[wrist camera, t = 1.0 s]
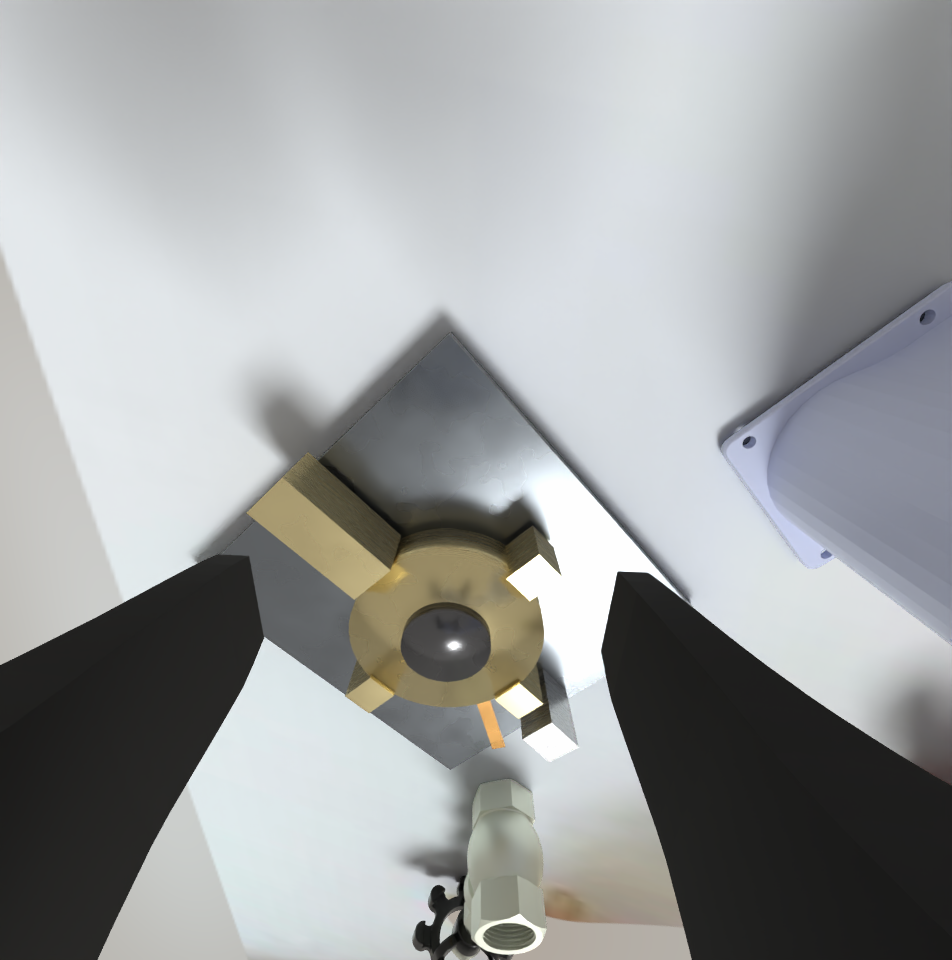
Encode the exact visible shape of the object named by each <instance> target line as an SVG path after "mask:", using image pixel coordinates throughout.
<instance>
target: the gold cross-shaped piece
mask: <svg viewBox="0 0 952 960" xmlns="http://www.w3.org/2000/svg"><path fill="white" fill-rule="evenodd" d="M247 514H248V515H249V516H251V517H252V518H253V519H254V520H256V521H257V522H258V523H259V524H261V525H262V526H263V527H264V528H266V529H267V530H268V531H269V532H271V533H272V534H273V535H274V536H275V537H277V538H278V539H279V540H280V541H282V542H283V543H284V544H285V545H287V546H288V547H289V548H290V549H292V550H293V551H294V552H295V553H297V554H298V555H299V556H300V557H302V558H303V559H304V560H305V561H307V562H308V563H309V564H310V565H312V566H313V567H314V568H315V569H317V570H318V571H319V572H320V573H321V574H323V575H324V576H325V577H326V578H328V579H329V580H330V581H331V582H333V583H334V584H335V585H336V586H338V587H339V588H340V589H341V590H343V591H344V592H345V593H346V594H348V595H349V596H350V597H351V598H353V599H354V600H355V599H356V600H355V603H354V606H353V608H352V611H351V615H350V620H349V637H350V643H351V646H352V649H353V652H354V655H355V657H356V658H357V661H356V664H355V667H354V670H353V673H352V676H351V679H350V683H349V686H348V689H347V692H346V695H345V696H346V697H347V698H348V699H350V700H351V701H353V702H354V703H355V704H357V705H358V706H360V707H361V708H362V709H364V710H365V711H367V712H368V713H370V712H372V711H373V710H374V709H376V708H377V707H379V706H380V705H382V704H383V703H384V702H386V701H387V700H389V699H390V698H392V697H393V696H394V694H395V695H397V696H399V697H401V698H404V699H406V700H409V701H412V702H415V703H419V704H423V705H429V706H436V707H463V706H470V705H475V704H480V703H483V702H486V701H490V700H492V699H494V698H495V700H496V701H497V702H498V703H500V704H501V705H502V706H503V707H504V708H506V709H507V710H508V711H509V712H511V713H512V714H513V715H514V716H515V717H517V718H518V719H519V718H521V717H523V716H524V715H526V714H528V713H529V712H531V711H533V710H534V709H536V708H537V707H539V706H541V705H542V704H543V700H542V694H541V687H540V681H539V674H538V668H537V664H536V663H537V661H538V659H539V657H540V654H541V652H542V648H543V643H544V623H543V617H542V612H541V607H540V602H539V597H538V595H539V594H541V593H542V592H543V591H545V590H546V589H548V588H549V587H551V586H552V585H553V584H555V583H556V582H558V581H559V580H561V579H562V574H561V571H560V567H559V564H558V560H557V557H556V553H555V550H554V547H553V546H552V545H551V544H550V543H549V542H548V541H547V540H546V539H545V538H544V537H543V535H542V534H541V533H540V532H539V531H538V530H537V529H536V528H535V527H534V526H533V525H532V526H531V527H530V528H529V529H527V530H526V531H525V532H523V533H522V534H521V535H519V536H518V537H517V538H515V539H514V540H513V541H511V542H510V543H509V544H507V545H506V546H505V545H504V544H502V543H501V542H499V541H497V540H495V539H493V538H491V537H489V536H486V535H483V534H481V533H478V532H474V531H469V530H464V529H455V528H439V529H431V530H425V531H421V532H417V533H414V534H411V535H409V536H406V537H404V538H402V539H400V538H401V535H400V534H399V533H398V532H397V531H396V530H394V529H393V528H392V527H391V526H390V525H389V524H388V523H387V522H386V521H384V520H383V519H382V518H381V517H380V516H379V515H378V514H377V513H376V512H374V511H373V510H372V509H371V508H370V507H369V506H368V505H367V504H365V503H364V502H363V501H362V500H361V499H360V498H359V497H358V496H357V495H355V494H354V493H353V492H352V491H351V490H350V489H349V488H348V487H347V486H345V485H344V484H343V483H342V482H341V481H340V480H339V479H338V478H337V477H335V476H334V475H333V474H332V473H331V472H330V471H329V470H328V469H326V468H325V467H324V466H323V465H322V464H321V463H320V462H319V461H318V460H316V459H315V458H314V457H313V456H312V455H311V454H310V453H309V452H308V453H307V454H306V455H305V456H304V457H303V458H302V459H301V460H300V461H298V462H297V463H296V464H295V465H294V466H293V467H292V468H291V469H290V470H289V471H288V472H287V473H286V474H285V475H284V476H283V477H282V478H281V479H280V480H279V481H278V482H277V483H276V484H275V485H274V486H273V487H272V488H271V489H270V490H269V491H268V492H267V493H266V494H265V495H264V496H263V497H262V498H261V499H260V500H259V501H258V502H257V503H256V504H255V505H254V506H253V507H252V508H251V509H250V510H249V511H248V512H247Z"/></svg>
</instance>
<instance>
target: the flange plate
mask: <svg viewBox="0 0 952 960" xmlns="http://www.w3.org/2000/svg"><path fill="white" fill-rule="evenodd" d="M318 461H319V462H320V463H321V464H322V465H323V466H324V467H325V468H326V469H328V470H329V471H330V472H331V473H332V474H333V475H334V476H335V477H337V478H338V479H339V480H340V481H341V482H342V483H343V484H344V485H345V486H347V487H348V488H349V489H350V490H351V491H352V492H353V493H354V494H355V495H357V496H358V497H359V498H360V499H361V500H362V501H363V502H364V503H365V504H367V505H368V506H369V507H370V508H371V509H372V510H373V511H374V512H376V513H377V514H378V515H379V516H380V517H381V518H382V519H383V520H384V521H386V522H387V523H388V524H389V525H390V526H391V527H392V528H393V529H394V530H396V531H397V532H398V533H399V534H400V535H401V538H400V539H402V538H404V537H406V536H409V535H411V534H414V533H417V532H421V531H425V530H431V529H439V528H455V529H464V530H469V531H474V532H478V533H481V534H483V535H486V536H489V537H491V538H493V539H495V540H497V541H499V542H501V543H502V544H504V545H505V546H506V545H507V544H509V543H510V542H511V541H513V540H514V539H515V538H517V537H518V536H519V535H521V534H522V533H523V532H525V531H526V530H527V529H529V528H530V527H531V526H532V525H533V526H534V527H535V528H536V529H537V530H538V531H539V532H540V533H541V534H542V535H543V537H544V538H545V539H546V540H547V541H548V542H549V543H550V544H551V545H552V546H553V547H554V550H555V553H556V557H557V560H558V564H559V567H560V571H561V574H562V579H561V580H559V581H558V582H556V583H555V584H553V585H552V586H551V587H549V588H548V589H546V590H545V591H543V592H542V593H541V594H539V595H538V597H539V602H540V607H541V612H542V617H543V623H544V643H543V648H542V652H541V654H540V657H539V659H538V661H537V663H536V664H537V668H538V674H539V681H540V687H541V694H542V700H543V704H542V705H541V706H539V707H537V708H536V709H534V710H533V711H531V712H529V713H528V714H526V715H524V716H523V717H521V718H519V719H518V718H517V717H515V716H514V715H513V714H512V713H511V712H509V711H508V710H507V709H506V708H504V707H503V706H502V705H501V704H500V703H498V702H497V701H496V700H495V698H494V699H492V700H490V701H486V702H483V703H480V704H475V705H470V706H463V707H436V706H429V705H423V704H419V703H415V702H412V701H409V700H406V699H404V698H401V697H399V696H397V695H395V694H394V696H393V697H392V698H390V699H389V700H387V701H386V702H384V703H383V704H382V705H380V706H379V707H377V708H376V709H374V710H373V711H372V712H370V713H372V714H373V715H375V716H376V717H377V718H379V719H380V720H382V721H383V722H384V723H386V724H387V725H389V726H390V727H391V728H393V729H394V730H396V731H397V732H398V733H400V734H401V735H403V736H404V737H405V738H407V739H408V740H409V741H411V742H412V743H414V744H415V745H416V746H418V747H419V748H421V749H422V750H423V751H425V752H426V753H428V754H429V755H430V756H432V757H433V758H435V759H436V760H437V761H439V762H440V763H442V764H443V765H444V766H446V767H447V768H449V769H450V770H451V769H452V768H454V767H456V766H457V765H459V764H461V763H462V762H464V761H466V760H467V759H469V758H471V757H472V756H474V755H475V754H477V753H479V752H480V751H482V750H484V749H485V748H487V747H489V746H490V745H491V746H492V749H496V748H502V747H505V743H504V740H503V738H504V737H505V736H507V735H509V734H510V733H512V732H514V731H515V730H517V729H518V728H520V727H521V729H522V739H523V740H524V741H525V742H526V743H528V744H529V745H530V746H531V747H532V748H533V749H535V750H536V751H537V752H538V753H539V754H540V755H542V756H543V757H544V758H545V759H546V760H547V761H548V762H551V761H553V760H555V759H557V758H559V757H561V756H562V755H564V754H566V753H568V752H570V751H572V750H574V749H576V748H578V743H577V738H576V733H575V729H574V724H573V720H572V715H571V711H570V706H569V701H568V698H570V697H571V696H573V695H575V694H576V693H578V692H580V691H581V690H583V689H585V688H586V687H588V686H590V685H591V684H593V683H595V682H596V681H598V680H599V679H601V678H603V677H604V676H606V674H605V669H604V664H603V660H602V655H601V647H602V642H603V637H604V633H605V628H606V623H607V618H608V613H609V609H610V604H611V599H612V594H613V589H614V584H615V580H616V575H617V571H625V572H648V573H650V574H651V575H652V576H654V577H655V578H657V579H658V580H659V581H660V582H662V583H663V584H664V585H666V586H667V587H668V588H669V589H671V590H672V591H673V592H674V593H676V594H677V595H678V596H679V597H681V598H682V599H683V600H684V601H685V602H687V603H688V604H689V605H690V606H692V605H691V604H690V602H689V601H688V600H687V599H686V598H685V597H684V596H683V595H682V593H681V592H680V591H679V590H678V589H677V588H676V587H675V585H674V584H673V583H672V582H671V581H670V580H669V579H668V578H667V576H666V575H665V574H664V573H663V572H662V571H661V570H660V568H659V567H658V566H657V565H656V564H655V563H654V562H653V560H652V559H651V558H650V557H649V556H648V555H647V554H646V553H645V551H644V550H643V549H642V548H641V547H640V546H639V545H638V543H637V542H636V541H635V540H634V539H633V538H632V537H631V536H630V534H629V533H628V532H627V531H626V530H625V529H624V528H623V526H622V525H621V524H620V523H619V522H618V521H617V520H616V519H615V517H614V516H613V515H612V514H611V513H610V512H609V511H608V509H607V508H606V507H605V506H604V505H603V504H602V503H601V501H600V500H599V499H598V498H597V497H596V496H595V495H594V494H593V492H592V491H591V490H590V489H589V488H588V487H587V486H586V484H585V483H584V482H583V481H582V480H581V479H580V478H579V477H578V475H577V474H576V473H575V472H574V471H573V470H572V469H571V467H570V466H569V465H568V464H567V463H566V462H565V461H564V459H563V458H562V457H561V456H560V455H559V454H558V453H557V452H556V450H555V449H554V448H553V447H552V446H551V445H550V444H549V442H548V441H547V440H546V439H545V438H544V437H543V436H542V435H541V433H540V432H539V431H538V430H537V429H536V428H535V427H534V425H533V424H532V423H531V422H530V421H529V420H528V419H527V417H526V416H525V415H524V414H523V413H522V412H521V411H520V410H519V408H518V407H517V406H516V405H515V404H514V403H513V402H512V400H511V399H510V398H509V397H508V396H507V395H506V394H505V393H504V391H503V390H502V389H501V388H500V387H499V386H498V385H497V383H496V382H495V381H494V380H493V379H492V378H491V377H490V376H489V374H488V373H487V372H486V371H485V370H484V369H483V368H482V366H481V365H480V364H479V363H478V362H477V361H476V360H475V358H474V357H473V356H472V355H471V354H470V353H469V352H468V351H467V349H466V348H465V347H464V346H463V345H462V344H461V343H460V341H459V340H458V339H457V338H456V337H455V336H454V335H453V334H452V332H450V333H449V334H448V335H447V336H446V337H445V338H444V339H443V340H441V341H440V342H439V343H438V344H437V345H436V346H435V347H434V348H433V349H432V350H431V351H430V352H429V353H428V354H427V355H426V356H425V357H424V358H423V359H422V360H421V361H420V362H419V363H418V364H417V365H416V366H415V367H414V368H412V369H411V370H410V371H409V372H408V373H407V374H406V375H405V376H404V377H403V378H402V379H401V380H400V381H399V382H398V383H397V384H396V385H395V386H394V387H393V388H392V389H391V390H390V391H389V392H388V393H387V394H386V395H385V396H383V397H382V398H381V399H380V400H379V401H378V402H377V403H376V404H375V405H374V406H373V407H372V408H371V409H370V410H369V411H368V412H367V413H366V414H365V415H364V416H363V417H362V418H361V419H360V420H359V421H358V422H357V423H356V424H354V425H353V426H352V427H351V428H350V429H349V430H348V431H347V432H346V433H345V434H344V435H343V436H342V437H341V438H340V439H339V440H338V441H337V442H336V443H335V444H334V445H333V446H332V447H331V448H330V449H329V450H328V451H327V452H325V453H324V454H323V455H322V456H321V457H320V458H319V459H318ZM220 555H243V556H249V558H250V563H251V569H252V574H253V580H254V585H255V591H256V596H257V602H258V607H259V613H260V618H261V624H262V629H263V635H264V637H266V638H267V639H268V640H270V641H271V642H273V643H274V644H275V645H277V646H278V647H280V648H281V649H282V650H284V651H285V652H287V653H288V654H289V655H291V656H292V657H294V658H295V659H296V660H298V661H299V662H301V663H302V664H303V665H305V666H306V667H308V668H309V669H310V670H312V671H313V672H314V673H316V674H317V675H319V676H320V677H321V678H323V679H324V680H326V681H327V682H328V683H330V684H331V685H333V686H334V687H335V688H337V689H338V690H340V691H341V692H342V693H344V694H345V695H346V692H347V689H348V686H349V683H350V679H351V676H352V673H353V670H354V667H355V664H356V661H357V658H356V657H355V655H354V652H353V649H352V646H351V643H350V637H349V620H350V615H351V611H352V608H353V606H354V603H355V600H356V599H355V600H354V599H353V598H351V597H350V596H349V595H348V594H346V593H345V592H344V591H343V590H341V589H340V588H339V587H338V586H336V585H335V584H334V583H333V582H331V581H330V580H329V579H328V578H326V577H325V576H324V575H323V574H321V573H320V572H319V571H318V570H317V569H315V568H314V567H313V566H312V565H310V564H309V563H308V562H307V561H305V560H304V559H303V558H302V557H300V556H299V555H298V554H297V553H295V552H294V551H293V550H292V549H290V548H289V547H288V546H287V545H285V544H284V543H283V542H282V541H280V540H279V539H278V538H277V537H275V536H274V535H273V534H272V533H271V532H269V531H268V530H267V529H266V528H264V527H263V526H262V525H261V524H259V523H258V522H257V521H256V520H255V521H254V522H253V523H252V524H251V525H250V526H249V527H248V528H247V529H246V530H245V531H244V532H243V533H242V534H241V535H240V536H238V537H237V538H236V539H235V540H234V541H233V542H232V543H231V544H230V545H229V546H228V547H227V548H226V549H225V550H224V551H223V552H222V553H221V554H220ZM692 607H693V606H692Z"/></svg>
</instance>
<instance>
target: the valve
mask: <svg viewBox="0 0 952 960" xmlns="http://www.w3.org/2000/svg"><path fill="white" fill-rule="evenodd" d="M534 821H535V814H534V804H533V795H532V792H531V791H530V790H528V789H527V788H525V787H524V786H522V785H520V784H519V783H517V782H516V781H514V780H512V779H503V780H497V781H491V782H486V783H482V784H480V785H479V788H478V790H477V793H476V795H475V798H474V800H473V806H472V831H473V832H472V835H471V837H470V841H469V845H468V852H467V866H468V874H467V876H463V877H462V878H461V879H460V882H459V884H458V886H457V895H458V896H457V897H454V898H452V899H450V900H448V899H447V898H446V897H445V894H444V892H445V888H444V887H443V886H441V885H436V886H435V887H433V889H432V891H431V893H430V896H429V899H428V906H429V908H430V910H431V911H432V912H434V913H435V920H434V922H433V924H432V925H431V926H427V925H425V921H421V922H419V923H418V924H417V926H416V929H415V931H414V934H413V938H412V941H413V945H414V947H415V948H416V950H418V951H424V950H428V951H429V953H430V956H431V960H444V958H445V956H446V955H447V954H448V953H449V952H450V951H451V950H452V952H453V953H454V954H455V955H456V956H457V957H458V958H459V959H460V960H469V959H470V958H473V957H474V956H476V955H477V954H478V952H479V951H480V949H481V950H482V951H483V952H484V953H485V954H486V955H487V956H488V960H499V959H500V960H511V959H512V957H513V955H514V954H520V953H524V952H527V951H530V950H532V949H534V948H536V947H537V946H538V945H539V944H540V943H541V941H542V939H543V937H544V935H545V932H546V929H547V926H546V917H545V907H544V898H543V890H542V889H540V884H541V881H542V875H543V853H542V848H541V844H540V841H539V838H538V835H537V833H536V831H535V829H534V827H533V826H532V825H533V823H534ZM458 910H461V911H460V913H459V915H458V917H457V920H456V922H455V924H454V926H453V930H452V935H450V936H449V937H448V938H446V939H445V940H444V941H443V942H442V943H441V944H440V930H441V926H442V923H443V922H444V920H445V919H446V918H447V916H449V915H450V914H451V913H453V912H455V911H458Z"/></svg>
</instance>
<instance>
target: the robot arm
mask: <svg viewBox="0 0 952 960" xmlns="http://www.w3.org/2000/svg"><path fill="white" fill-rule="evenodd" d="M924 312H925V317H924V319H923V320H922V321H921V322H920V317H921V315H922V314H923V313H924ZM749 436H750V437H751V439H750V441H749V443H748V444H746V445H743V444H742V443H743V440H744V439H745V438H746V437H749ZM721 452H722V455H723V456H724V458H725V459H726V461H727V462H728V463H729V465H730V466H731V467H732V469H733V470H734V471H735V473H736V474H737V476H738V477H739V478H740V480H741V481H742V482H743V484H744V485H745V487H746V488H747V489H748V491H749V492H750V493H751V495H752V496H753V498H754V499H755V500H756V502H757V503H758V504H759V506H760V507H761V509H762V510H763V511H764V513H765V514H766V515H767V517H768V518H769V520H770V521H771V522H772V524H773V525H774V526H775V528H776V529H777V531H778V532H779V533H780V535H781V536H782V537H783V539H784V540H785V542H786V543H787V544H788V546H789V547H790V548H791V550H792V551H793V553H794V554H795V555H796V557H797V558H798V559H799V561H800V562H801V563H802V564H803V565H804V566H806V567H807V568H810V569H815V568H818V567H821V566H822V565H824V564H826V563H827V562H829V561H831V560H832V559H834V558H837V559H839V560H840V561H841V562H843V563H844V564H845V565H847V566H848V567H849V568H851V569H852V570H853V571H855V572H856V573H857V574H859V575H860V576H861V577H862V578H864V579H865V580H866V581H868V582H869V583H870V584H872V585H873V586H874V587H876V588H877V589H878V590H880V591H881V592H882V593H884V594H885V595H886V596H887V597H889V598H890V599H891V600H893V601H894V602H895V603H897V604H898V605H899V606H901V607H902V608H903V609H905V610H906V611H907V612H909V613H910V614H911V615H912V616H914V617H915V618H916V619H918V620H919V621H920V622H922V623H923V624H924V625H926V626H927V627H928V628H930V629H931V630H932V631H933V632H935V633H936V634H937V635H939V636H940V637H941V638H943V639H944V640H945V641H947V642H948V643H949V644H951V645H952V282H948V283H946V284H944V285H942V286H940V287H939V288H938V289H936V290H935V291H933V292H932V293H931V294H929V295H928V296H926V297H925V298H924V299H922V300H921V301H919V302H918V303H917V304H915V305H914V306H912V307H911V308H910V309H908V310H907V311H905V312H904V313H903V314H901V315H900V316H898V317H897V318H896V319H894V320H893V321H891V322H890V323H889V324H887V325H886V326H884V327H883V328H882V329H880V330H879V331H877V332H876V333H875V334H873V335H872V336H870V337H869V338H868V339H866V340H865V341H863V342H862V343H861V344H859V345H858V346H856V347H855V348H854V349H852V350H851V351H849V352H848V353H847V354H845V355H844V356H842V357H841V358H840V359H838V360H837V361H835V362H834V363H833V364H831V365H830V366H828V367H827V368H826V369H824V370H823V371H821V372H820V373H819V374H817V375H816V376H814V377H813V378H812V379H810V380H809V381H807V382H806V383H805V384H803V385H802V386H800V387H799V388H798V389H796V390H795V391H793V392H792V393H791V394H789V395H788V396H786V397H785V398H784V399H782V400H781V401H779V402H778V403H777V404H775V405H774V406H772V407H771V408H770V409H768V410H767V411H765V412H764V413H763V414H761V415H760V416H758V417H757V418H756V419H754V420H753V421H751V422H750V423H749V424H747V425H746V426H744V427H743V428H742V429H740V430H739V431H737V432H736V433H735V434H733V435H732V436H730V437H729V438H728V439H727V440H726V441H725V442H724V443H723V445H722V447H721ZM825 549H826V551H824V552H823V553H821V552H822V551H823V550H825ZM263 639H264V635H263V629H262V624H261V618H260V613H259V607H258V602H257V596H256V591H255V585H254V580H253V574H252V569H251V563H250V558H249V556H243V555H219V554H218V555H215V556H213V557H211V558H208V559H206V560H204V561H202V562H200V563H198V564H196V565H194V566H192V567H190V568H188V569H186V570H184V571H182V572H180V573H178V574H177V575H175V576H173V577H171V578H169V579H167V580H165V581H163V582H162V583H160V584H158V585H156V586H154V587H152V588H150V589H149V590H147V591H145V592H143V593H141V594H139V595H137V596H135V597H134V598H132V599H130V600H128V601H126V602H124V603H122V604H120V605H119V606H117V607H115V608H113V609H111V610H109V611H107V612H106V613H104V614H102V615H100V616H98V617H96V618H94V619H92V620H90V621H88V622H86V623H84V624H83V625H80V626H78V627H76V628H74V629H72V630H70V631H68V632H66V633H64V634H62V635H60V636H58V637H56V638H54V639H52V640H50V641H48V642H46V643H44V644H42V645H40V646H39V647H36V648H34V649H32V650H30V651H29V652H26V653H24V654H22V655H20V656H18V657H16V658H14V659H12V660H10V661H8V662H6V663H4V664H2V665H0V960H98V957H99V955H100V953H101V951H102V949H103V946H104V944H105V942H106V940H107V938H108V936H109V933H110V931H111V929H112V927H113V925H114V922H115V920H116V918H117V916H118V914H119V912H120V910H121V908H122V906H123V904H124V902H125V900H126V898H127V896H128V893H129V891H130V889H131V887H132V885H133V883H134V881H135V879H136V877H137V875H138V873H139V871H140V869H141V867H142V864H143V862H144V860H145V858H146V856H147V854H148V852H149V850H150V848H151V846H152V844H153V842H154V840H155V839H156V837H157V835H158V833H159V831H160V829H161V828H162V826H163V824H164V822H165V820H166V818H167V817H168V815H169V813H170V811H171V810H172V808H173V806H174V804H175V803H176V801H177V799H178V798H179V796H180V794H181V793H182V791H183V789H184V788H185V786H186V784H187V782H188V781H189V779H190V777H191V776H192V774H193V772H194V771H195V769H196V767H197V765H198V764H199V762H200V760H201V759H202V757H203V755H204V754H205V752H206V750H207V749H208V747H209V745H210V743H211V742H212V740H213V738H214V737H215V735H216V733H217V732H218V730H219V728H220V726H221V725H222V723H223V721H224V720H225V718H226V716H227V714H228V713H229V711H230V709H231V707H232V706H233V704H234V702H235V700H236V699H237V697H238V695H239V693H240V692H241V690H242V688H243V686H244V684H245V682H246V679H247V677H248V675H249V673H250V670H251V668H252V666H253V664H254V661H255V659H256V656H257V654H258V651H259V649H260V646H261V644H262V642H263ZM601 655H602V660H603V664H604V669H605V674H606V679H607V683H608V688H609V692H610V696H611V700H612V704H613V707H614V710H615V713H616V716H617V718H618V721H619V724H620V727H621V730H622V733H623V736H624V739H625V742H626V745H627V747H628V750H629V753H630V756H631V759H632V761H633V764H634V767H635V770H636V773H637V776H638V778H639V781H640V784H641V787H642V790H643V793H644V796H645V798H646V801H647V804H648V807H649V810H650V813H651V815H652V818H653V821H654V824H655V827H656V830H657V833H658V836H659V839H660V842H661V846H662V849H663V852H664V855H665V858H666V861H667V865H668V869H669V873H670V877H671V880H672V884H673V888H674V892H675V896H676V899H677V903H678V907H679V911H680V915H681V919H682V922H683V926H684V930H685V934H686V938H687V942H688V946H689V949H690V954H691V958H692V960H952V786H951V785H949V784H947V783H945V782H944V781H942V780H940V779H939V778H937V777H935V776H933V775H932V774H930V773H928V772H927V771H925V770H923V769H922V768H920V767H918V766H917V765H915V764H913V763H912V762H910V761H908V760H907V759H905V758H903V757H902V756H900V755H899V754H897V753H895V752H894V751H892V750H890V749H889V748H887V747H886V746H884V745H883V744H881V743H880V742H878V741H876V740H875V739H873V738H872V737H870V736H869V735H867V734H866V733H864V732H862V731H861V730H859V729H858V728H856V727H855V726H853V725H852V724H850V723H848V722H847V721H845V720H844V719H842V718H841V717H839V716H838V715H836V714H835V713H833V712H832V711H830V710H829V709H827V708H826V707H824V706H823V705H821V704H820V703H818V702H817V701H815V700H814V699H813V698H811V697H810V696H808V695H807V694H805V693H804V692H803V691H801V690H800V689H798V688H797V687H796V686H794V685H793V684H792V683H790V682H789V681H787V680H786V679H785V678H783V677H782V676H780V675H779V674H778V673H776V672H775V671H774V670H772V669H771V668H769V667H768V666H767V665H765V664H764V663H763V662H761V661H760V660H759V659H757V658H756V657H755V656H753V655H752V654H751V653H749V652H748V651H747V650H746V649H744V648H743V647H742V646H740V645H739V644H738V643H737V642H735V641H734V640H733V639H731V638H730V637H729V636H728V635H726V634H725V633H724V632H723V631H721V630H720V629H719V628H718V627H716V626H715V625H714V624H713V623H711V622H710V621H709V620H708V619H706V618H705V617H704V616H703V615H701V614H700V613H699V612H698V611H696V610H695V609H694V608H693V607H692V606H690V605H689V604H688V603H687V602H685V601H684V600H683V599H682V598H681V597H679V596H678V595H677V594H676V593H674V592H673V591H672V590H671V589H669V588H668V587H667V586H666V585H664V584H663V583H662V582H660V581H659V580H658V579H657V578H655V577H654V576H652V575H651V574H650V573H648V572H625V571H617V575H616V580H615V584H614V589H613V594H612V599H611V604H610V609H609V613H608V618H607V623H606V628H605V633H604V637H603V642H602V647H601Z"/></svg>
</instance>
